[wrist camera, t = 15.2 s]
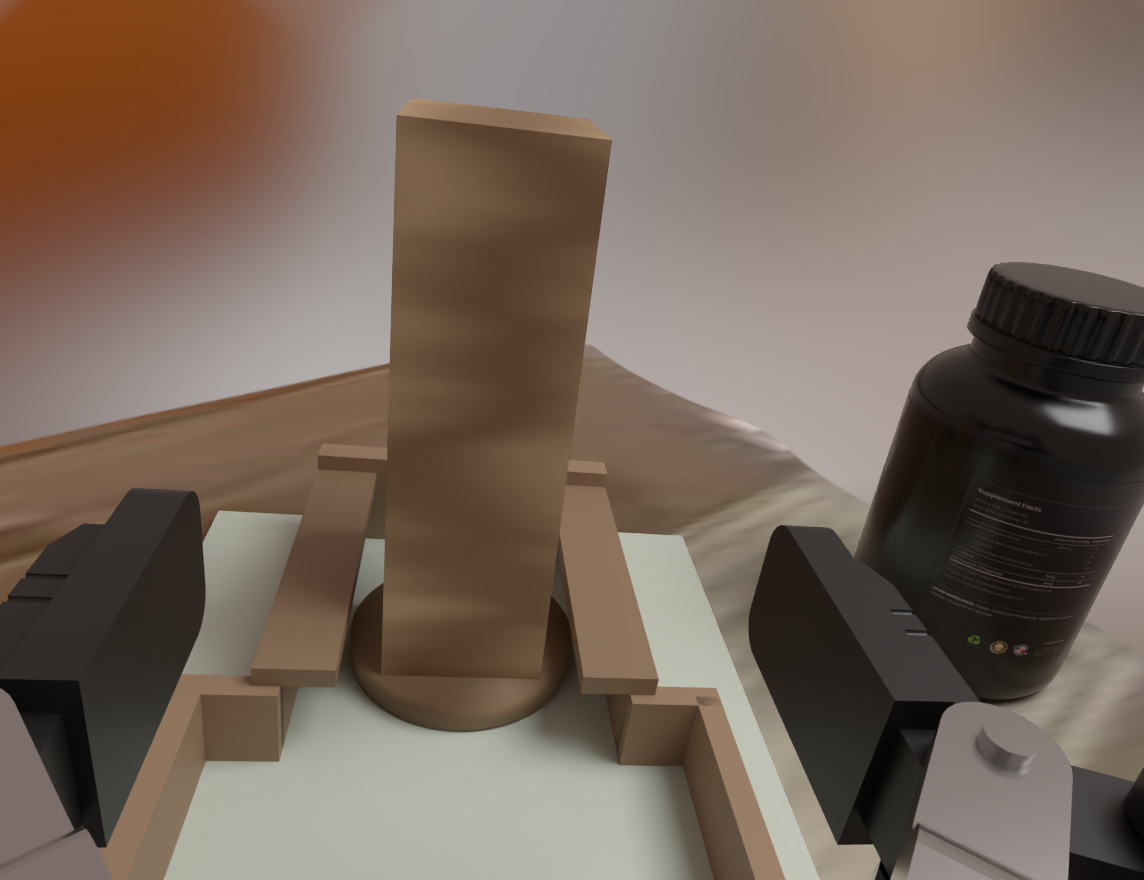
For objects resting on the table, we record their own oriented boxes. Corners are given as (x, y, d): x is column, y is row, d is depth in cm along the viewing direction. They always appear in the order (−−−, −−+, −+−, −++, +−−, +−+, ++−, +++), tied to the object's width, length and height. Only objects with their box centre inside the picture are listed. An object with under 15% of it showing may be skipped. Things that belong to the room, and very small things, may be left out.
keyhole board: (-163, 1289, 11) (-238, 1160, 10) (219, 521, 28) (213, 430, 27) (937, 1206, 14) (1013, 1092, 12) (679, 545, 31) (698, 463, 29)
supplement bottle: (824, 558, 31) (927, 237, 26) (1010, 592, 31) (1153, 273, 25) (857, 686, 25) (1001, 297, 20) (1091, 730, 25) (1301, 346, 19)
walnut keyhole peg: (333, 728, 20) (331, 113, 14) (364, 581, 26) (372, 89, 20) (578, 732, 21) (674, 152, 15) (559, 589, 26) (623, 120, 20)
